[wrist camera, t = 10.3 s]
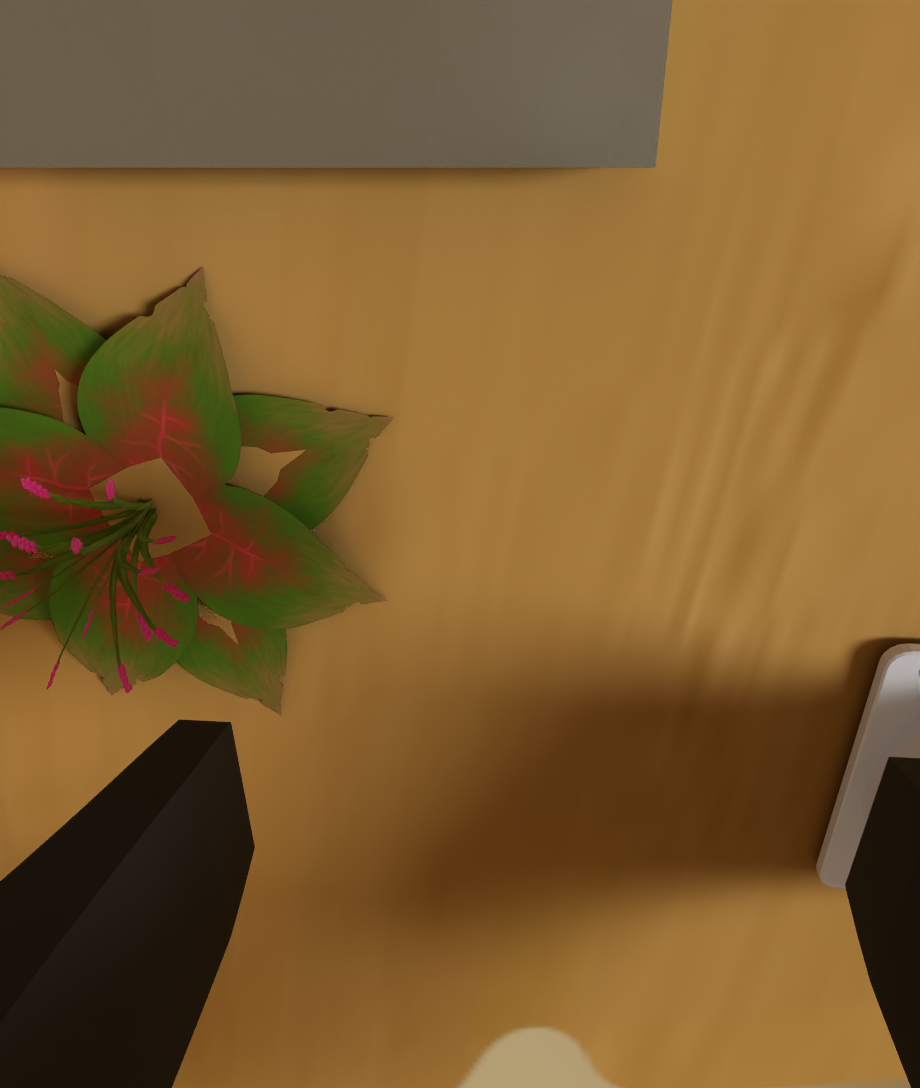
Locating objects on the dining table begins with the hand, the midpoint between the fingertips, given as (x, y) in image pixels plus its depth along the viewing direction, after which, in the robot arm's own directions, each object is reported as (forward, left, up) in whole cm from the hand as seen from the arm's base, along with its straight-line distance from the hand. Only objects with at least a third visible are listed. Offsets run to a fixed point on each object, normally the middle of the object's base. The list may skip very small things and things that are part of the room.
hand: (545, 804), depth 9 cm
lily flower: (+9, +1, -10) cm, 14 cm away
